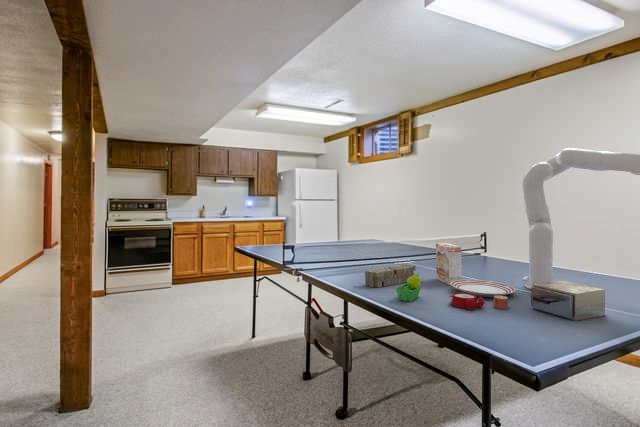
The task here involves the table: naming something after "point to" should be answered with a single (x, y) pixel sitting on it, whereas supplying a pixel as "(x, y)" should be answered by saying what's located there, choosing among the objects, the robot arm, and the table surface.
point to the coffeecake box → (448, 262)
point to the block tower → (389, 275)
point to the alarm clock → (467, 300)
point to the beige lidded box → (579, 298)
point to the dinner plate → (482, 287)
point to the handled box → (552, 301)
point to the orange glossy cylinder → (501, 302)
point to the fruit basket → (409, 289)
